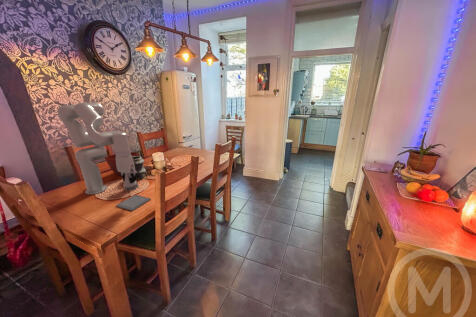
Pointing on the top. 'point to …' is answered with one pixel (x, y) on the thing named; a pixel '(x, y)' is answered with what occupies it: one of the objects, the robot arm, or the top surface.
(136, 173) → the coffeepot
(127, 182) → the flask
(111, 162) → the plant pot
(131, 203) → the slate coaster
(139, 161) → the apothecary jar
